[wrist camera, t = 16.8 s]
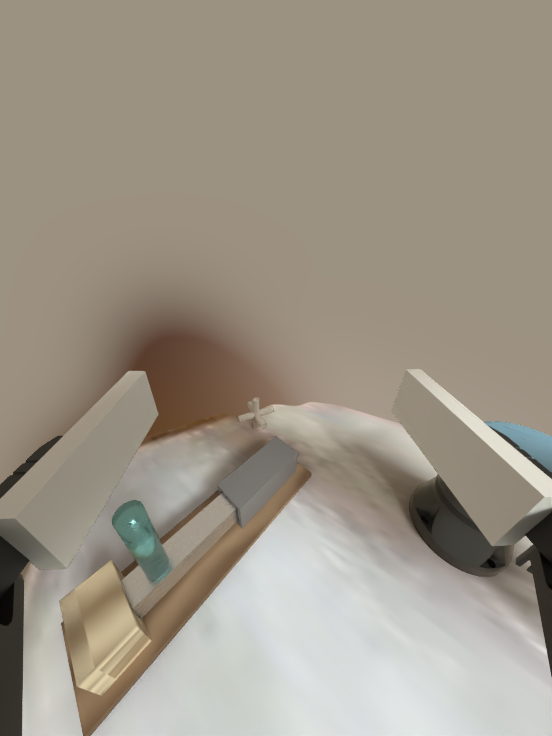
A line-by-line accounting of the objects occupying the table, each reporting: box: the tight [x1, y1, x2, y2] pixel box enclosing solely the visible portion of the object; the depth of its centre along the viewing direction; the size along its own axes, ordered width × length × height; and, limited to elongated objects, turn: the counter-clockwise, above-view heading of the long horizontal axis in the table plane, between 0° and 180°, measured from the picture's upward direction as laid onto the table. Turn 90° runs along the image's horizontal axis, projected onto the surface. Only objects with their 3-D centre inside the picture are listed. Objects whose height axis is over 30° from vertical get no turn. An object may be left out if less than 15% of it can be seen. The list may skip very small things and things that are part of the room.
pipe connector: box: [238, 398, 274, 430], centre depth 62 cm, size 10×10×10 cm
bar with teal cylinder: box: [112, 492, 238, 620], centre depth 33 cm, size 4×24×18 cm, turn 138°
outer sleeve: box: [218, 437, 298, 529], centre depth 46 cm, size 6×16×6 cm, turn 138°
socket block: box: [59, 560, 151, 696], centre depth 28 cm, size 9×6×7 cm, turn 48°
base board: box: [61, 463, 311, 736], centre depth 41 cm, size 12×42×1 cm, turn 138°
